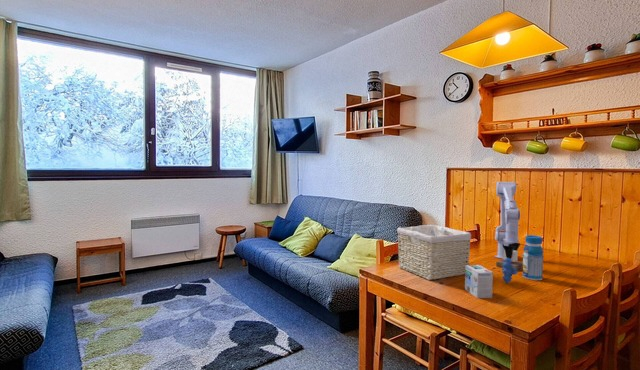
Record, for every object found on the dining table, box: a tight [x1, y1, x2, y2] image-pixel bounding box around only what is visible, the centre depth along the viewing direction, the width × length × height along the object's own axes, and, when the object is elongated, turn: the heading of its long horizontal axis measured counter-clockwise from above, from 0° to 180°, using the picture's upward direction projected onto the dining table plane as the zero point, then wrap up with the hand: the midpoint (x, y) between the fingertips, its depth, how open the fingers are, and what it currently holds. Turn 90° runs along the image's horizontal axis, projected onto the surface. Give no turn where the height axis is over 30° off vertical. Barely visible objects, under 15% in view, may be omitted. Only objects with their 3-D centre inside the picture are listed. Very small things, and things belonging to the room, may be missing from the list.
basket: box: [396, 224, 472, 281], centre depth 180 cm, size 27×27×22 cm
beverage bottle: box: [522, 234, 544, 281], centre depth 168 cm, size 8×8×20 cm
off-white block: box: [503, 250, 519, 262], centre depth 186 cm, size 5×5×5 cm
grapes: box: [501, 258, 519, 284], centre depth 160 cm, size 12×7×12 cm, turn 144°
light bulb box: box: [464, 264, 494, 299], centre depth 148 cm, size 11×7×11 cm, turn 5°
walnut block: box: [495, 259, 523, 272], centre depth 186 cm, size 10×10×3 cm
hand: (511, 257), depth 186 cm, fingers closed on off-white block, 5 cm apart
